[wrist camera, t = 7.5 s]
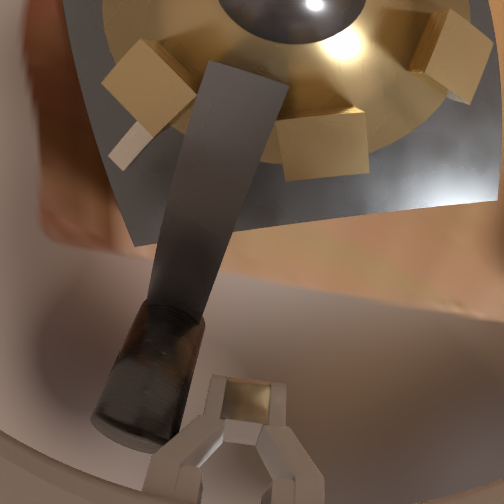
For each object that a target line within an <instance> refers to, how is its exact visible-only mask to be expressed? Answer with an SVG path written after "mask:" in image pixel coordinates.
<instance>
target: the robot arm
mask: <svg viewBox="0 0 504 504" xmlns="http://www.w3.org/2000/svg"><path fill="white" fill-rule="evenodd" d="M285 415H286V385H285V384H281V383H270V382H265V381H256V380H247V379H238V378H232V377H227V376H221V375H214V374H213V375H212V377H211V380H210V385H209V390H208V394H207V399H206V404H205V408H204V413H203V416H202V415H198V416H197V417H196V418H195V419H194V420H193V421H191V422H190V423H189V424H188V425H187V426H186V427H185V428H184V429H182V430H181V431H180V432H179V433H178V434H177V435H176V436H174V437H173V438H172V439H171V440H170V441H169V442H167V443H166V444H165V445H164V446H163V447H161V448H160V449H159V450H158V451H157V452H156V453H154V454H153V455H152V456H151V460H150V463H149V467H148V470H147V474H146V478H145V481H144V485H143V489H142V492H141V491H138V490H134V489H131V488H128V487H125V486H122V485H119V484H116V483H112V482H110V481H106V480H104V479H101V478H98V477H96V476H93V475H91V474H88V473H85V472H83V471H81V470H78V469H76V468H73V467H71V466H69V465H66V464H64V463H62V462H60V461H57V460H55V459H53V458H51V457H49V456H46V455H45V454H43V453H41V452H39V451H37V450H35V449H33V448H31V447H29V446H27V445H25V444H24V443H22V442H20V441H18V440H16V439H15V438H13V437H11V436H9V435H8V434H6V433H4V432H3V431H1V430H0V504H201V499H202V493H203V479H202V471H201V470H200V469H199V467H200V466H201V465H202V464H203V463H204V462H205V461H206V460H207V458H208V457H209V456H210V455H211V454H212V453H213V452H214V451H215V450H216V449H217V448H218V447H219V446H220V445H221V444H222V441H225V442H233V443H241V444H248V445H255V446H256V449H257V451H258V452H259V454H260V456H261V458H262V460H263V462H264V464H265V466H266V468H267V470H268V472H269V473H270V475H271V477H272V479H273V481H272V483H271V484H270V486H269V487H268V488H267V490H266V491H265V492H264V493H263V495H262V497H261V504H324V477H323V476H322V474H321V473H320V471H319V470H318V468H317V467H316V466H315V464H314V463H313V461H312V460H311V458H310V457H309V455H308V454H307V452H306V451H305V450H304V448H303V447H302V445H301V444H300V442H299V441H298V439H297V438H296V436H295V435H294V433H293V432H292V430H291V429H290V427H285V418H286V416H285ZM417 504H504V478H502V479H500V480H497V481H495V482H492V483H489V484H486V485H483V486H481V487H477V488H474V489H471V490H468V491H464V492H461V493H458V494H454V495H451V496H447V497H443V498H439V499H435V500H430V501H426V502H421V503H417Z"/></svg>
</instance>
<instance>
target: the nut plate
mask: <svg viewBox="0 0 504 504" xmlns="http://www.w3.org/2000/svg"><path fill="white" fill-rule="evenodd" d="M62 1H63V7H64V13H65V19H66V24H67V30H68V35H69V40H70V44H71V49H72V54H73V58H74V63H75V67H76V71H77V75H78V79H79V83H80V87H81V91H82V95H83V99H84V102H85V106H86V109H87V113H88V116H89V120H90V123H91V127H92V130H93V133H94V136H95V140H96V143H97V146H98V149H99V152H100V155H101V158H102V161H103V164H104V167H105V170H106V173H107V176H108V179H109V182H110V185H111V187H112V190H113V193H114V196H115V198H116V201H117V204H118V206H119V209H120V212H121V214H122V217H123V219H124V222H125V224H126V227H127V229H128V232H129V234H130V237H131V239H132V242H133V244H134V247H137V246H143V245H149V244H156V243H158V239H159V234H160V230H161V225H162V221H163V217H164V212H165V208H166V204H167V200H168V196H169V192H170V188H171V184H172V180H173V176H174V172H175V168H176V165H177V161H178V157H179V154H180V150H181V146H182V143H183V139H184V136H185V135H184V134H182V133H180V132H179V131H177V130H176V129H175V128H173V127H172V126H170V127H169V128H168V129H167V130H165V131H163V132H162V133H160V134H158V135H157V136H155V137H154V138H153V136H152V135H151V134H150V133H149V132H148V131H147V130H146V129H145V128H144V127H143V126H142V125H141V124H140V123H139V122H138V121H137V120H136V119H135V118H134V117H133V116H132V115H131V114H130V113H129V112H128V111H127V110H126V108H125V107H124V106H123V105H122V104H121V103H120V102H119V101H118V100H117V99H116V98H115V97H114V96H113V95H112V94H111V93H110V92H109V91H108V90H107V89H106V88H105V87H104V86H103V85H102V84H101V82H102V81H103V80H104V79H105V78H106V76H107V75H108V74H109V73H110V72H111V70H112V69H113V68H114V67H115V66H116V63H115V61H114V58H113V56H112V54H111V52H110V49H109V45H108V42H107V38H106V35H105V31H104V23H103V14H102V0H62ZM469 6H470V16H471V24H472V25H473V26H474V27H476V28H477V29H478V30H479V31H480V32H482V33H483V34H484V35H485V36H486V37H488V38H489V39H490V40H491V41H492V42H493V43H494V44H493V47H492V50H491V52H490V55H489V58H488V61H487V63H486V66H485V69H484V71H483V74H482V76H481V79H480V82H479V84H478V86H477V89H476V91H475V94H474V96H473V98H472V101H471V103H470V105H468V104H465V103H462V102H458V101H455V100H451V99H449V98H447V97H446V98H445V100H444V101H443V103H442V104H441V105H440V106H439V107H438V108H437V109H436V111H435V112H434V113H433V114H432V115H431V116H430V117H429V118H428V119H427V120H426V121H424V122H423V123H422V124H421V125H419V126H418V127H417V128H415V129H414V130H413V131H412V132H410V133H409V134H407V135H405V136H404V137H402V138H400V139H398V140H397V141H395V142H393V143H392V144H390V145H387V146H385V147H383V148H380V149H378V150H375V151H373V152H371V153H368V156H369V173H364V174H353V175H342V176H333V177H323V178H314V179H305V180H297V181H289V182H285V176H284V170H283V164H273V163H267V162H261V161H260V162H259V164H258V167H257V169H256V172H255V175H254V177H253V180H252V182H251V185H250V188H249V190H248V193H247V195H246V198H245V201H244V203H243V206H242V209H241V211H240V214H239V216H238V219H237V222H236V224H235V227H234V230H233V232H236V231H243V230H250V229H257V228H264V227H272V226H279V225H286V224H294V223H301V222H309V221H317V220H325V219H332V218H340V217H348V216H357V215H365V214H373V213H382V212H390V211H399V210H408V209H417V208H426V207H435V206H444V205H454V204H464V203H474V202H484V201H494V200H497V197H498V188H499V178H500V165H501V147H502V101H501V83H500V71H499V61H498V53H497V45H496V39H495V32H494V27H493V21H492V16H491V11H490V7H489V2H488V0H469Z"/></svg>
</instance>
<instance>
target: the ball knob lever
mask: <svg viewBox="0 0 504 504" xmlns="http://www.w3.org/2000/svg"><path fill="white" fill-rule="evenodd" d="M102 14H103V23H104V31H105V35H106V38H107V42H108V45H109V49H110V52H111V54H112V56H113V58H114V61H115V63H116V66H115V67H114V68H113V69H112V70H111V72H110V73H109V74H108V75H107V76H106V78H105V79H104V80H103V81H102V82H101V84H102V85H103V86H104V87H105V88H106V89H107V90H108V91H109V92H110V93H111V94H112V95H113V96H114V97H115V98H116V99H117V100H118V101H119V102H120V103H121V104H122V105H123V106H124V107H125V108H126V110H127V111H128V112H129V113H130V114H131V115H132V116H133V117H134V118H135V119H136V120H137V121H138V122H139V123H140V124H141V125H142V126H143V127H144V128H145V129H146V130H147V131H148V132H149V133H150V134H151V135H152V136H153V138H154V137H155V136H157V135H158V134H160V133H162V132H163V131H165V130H167V129H168V128H169V127H170V126H172V127H173V128H175V129H176V130H177V131H179V132H180V133H182V134H184V135H185V136H184V139H183V143H182V146H181V150H180V154H179V157H178V161H177V165H176V168H175V172H174V176H173V180H172V184H171V188H170V192H169V196H168V200H167V204H166V208H165V212H164V217H163V221H162V225H161V230H160V234H159V239H158V244H157V249H156V253H155V258H154V263H153V269H152V274H151V279H150V285H149V290H148V296H147V299H146V300H145V301H144V302H143V304H142V305H141V307H140V309H139V312H138V313H137V315H136V318H135V320H134V322H133V324H132V326H131V328H130V330H129V332H128V334H127V336H126V338H125V340H124V343H123V345H122V347H121V349H120V351H119V353H118V355H117V358H116V360H115V362H114V364H113V366H112V369H111V371H110V373H109V375H108V378H107V380H106V382H105V384H104V387H103V389H102V391H101V394H100V396H99V399H98V401H97V403H96V406H95V408H94V410H93V413H92V415H91V418H90V419H91V423H92V424H93V425H94V427H95V428H96V429H97V430H98V431H99V432H101V433H102V434H103V435H105V436H106V437H108V438H109V439H111V440H113V441H115V442H116V443H119V444H121V445H123V446H125V447H128V448H131V449H133V450H137V451H140V452H144V453H149V454H154V453H156V452H157V451H158V450H159V449H160V448H161V447H163V446H164V445H165V444H166V443H167V442H169V441H170V440H171V439H172V438H173V437H174V436H176V435H177V434H178V433H179V430H180V426H181V422H182V418H183V414H184V410H185V405H186V402H187V398H188V393H189V389H190V385H191V381H192V377H193V373H194V370H195V365H196V361H197V358H198V354H199V350H200V346H201V342H202V338H203V335H204V331H205V321H204V318H203V316H202V315H203V312H204V309H205V306H206V303H207V301H208V298H209V295H210V292H211V290H212V286H213V284H214V281H215V279H216V276H217V273H218V270H219V268H220V265H221V262H222V259H223V257H224V254H225V251H226V249H227V246H228V243H229V240H230V238H231V235H232V232H233V230H234V227H235V224H236V222H237V219H238V216H239V214H240V211H241V209H242V206H243V203H244V201H245V198H246V195H247V193H248V190H249V188H250V185H251V182H252V180H253V177H254V175H255V172H256V169H257V167H258V164H259V162H260V161H261V162H267V163H273V164H283V170H284V176H285V182H289V181H297V180H305V179H314V178H323V177H333V176H342V175H353V174H364V173H369V156H368V153H371V152H373V151H375V150H378V149H380V148H383V147H385V146H387V145H390V144H392V143H393V142H395V141H397V140H398V139H400V138H402V137H404V136H405V135H407V134H409V133H410V132H412V131H413V130H414V129H415V128H417V127H418V126H419V125H421V124H422V123H423V122H424V121H426V120H427V119H428V118H429V117H430V116H431V115H432V114H433V113H434V112H435V111H436V109H437V108H438V107H439V106H440V105H441V104H442V103H443V101H444V100H445V98H446V97H447V98H449V99H451V100H455V101H458V102H462V103H465V104H468V105H470V103H471V101H472V98H473V96H474V94H475V91H476V89H477V86H478V84H479V82H480V79H481V76H482V74H483V71H484V69H485V66H486V63H487V61H488V58H489V55H490V52H491V50H492V47H493V44H494V43H493V42H492V41H491V40H490V39H489V38H488V37H486V36H485V35H484V34H483V33H482V32H480V31H479V30H478V29H477V28H476V27H474V26H473V25H472V24H471V16H470V6H469V0H102Z"/></svg>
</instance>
